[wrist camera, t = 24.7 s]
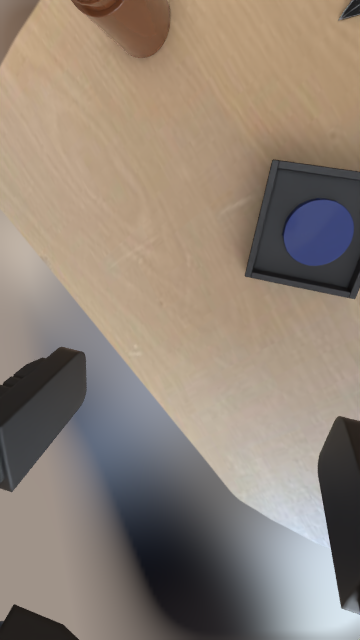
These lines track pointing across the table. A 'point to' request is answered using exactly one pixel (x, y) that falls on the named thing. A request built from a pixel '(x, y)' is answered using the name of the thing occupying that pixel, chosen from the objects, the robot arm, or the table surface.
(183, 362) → the table surface
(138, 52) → the jar
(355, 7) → the knife
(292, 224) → the lid
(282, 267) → the tray
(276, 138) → the table surface
